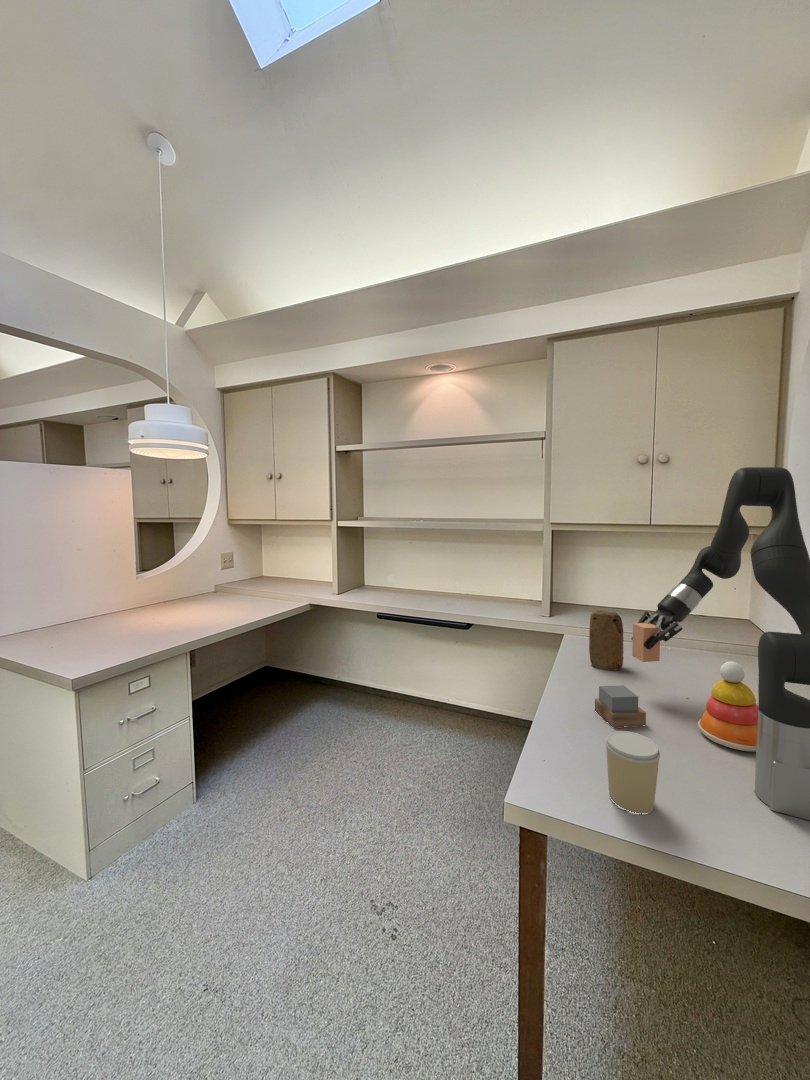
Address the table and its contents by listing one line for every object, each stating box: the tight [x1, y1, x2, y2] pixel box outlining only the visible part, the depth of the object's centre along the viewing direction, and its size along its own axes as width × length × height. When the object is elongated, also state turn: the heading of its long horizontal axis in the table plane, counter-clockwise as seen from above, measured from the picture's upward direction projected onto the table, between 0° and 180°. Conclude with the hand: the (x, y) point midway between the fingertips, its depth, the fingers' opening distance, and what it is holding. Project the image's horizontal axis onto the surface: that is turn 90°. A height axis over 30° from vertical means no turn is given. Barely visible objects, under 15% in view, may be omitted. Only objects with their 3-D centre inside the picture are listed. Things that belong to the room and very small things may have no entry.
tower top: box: [598, 685, 639, 712], centre depth 113 cm, size 7×7×4 cm
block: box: [588, 609, 624, 671], centre depth 148 cm, size 11×8×20 cm
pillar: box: [631, 622, 661, 663], centre depth 122 cm, size 5×5×10 cm
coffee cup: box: [605, 730, 661, 814], centre depth 81 cm, size 9×9×12 cm
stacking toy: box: [697, 660, 758, 752], centre depth 101 cm, size 14×14×20 cm
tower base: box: [594, 698, 647, 728], centre depth 113 cm, size 9×9×4 cm
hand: (640, 644), depth 122 cm, fingers closed on pillar, 5 cm apart
